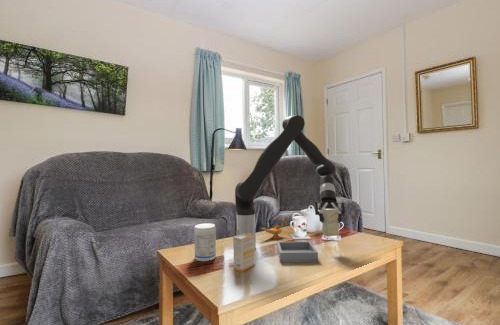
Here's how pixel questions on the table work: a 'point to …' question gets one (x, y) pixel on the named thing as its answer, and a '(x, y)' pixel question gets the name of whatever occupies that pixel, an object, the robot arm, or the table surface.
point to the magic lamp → (275, 230)
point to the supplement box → (243, 251)
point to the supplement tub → (205, 242)
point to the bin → (297, 252)
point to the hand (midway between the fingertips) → (330, 222)
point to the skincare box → (330, 222)
